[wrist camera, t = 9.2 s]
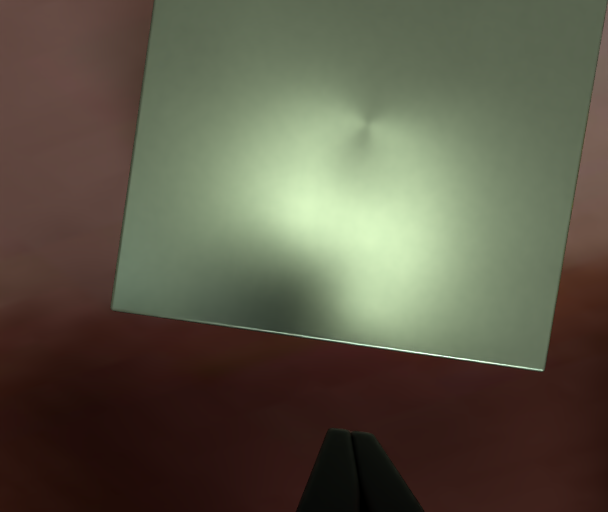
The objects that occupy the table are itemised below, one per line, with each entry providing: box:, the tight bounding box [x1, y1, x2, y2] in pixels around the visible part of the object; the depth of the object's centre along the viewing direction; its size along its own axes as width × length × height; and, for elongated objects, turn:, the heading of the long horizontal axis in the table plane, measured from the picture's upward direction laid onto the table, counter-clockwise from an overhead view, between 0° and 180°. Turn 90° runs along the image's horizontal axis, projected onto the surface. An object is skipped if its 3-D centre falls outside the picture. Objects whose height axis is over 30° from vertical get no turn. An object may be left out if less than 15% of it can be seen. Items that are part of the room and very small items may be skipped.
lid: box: [110, 0, 608, 372], centre depth 13 cm, size 11×12×1 cm
